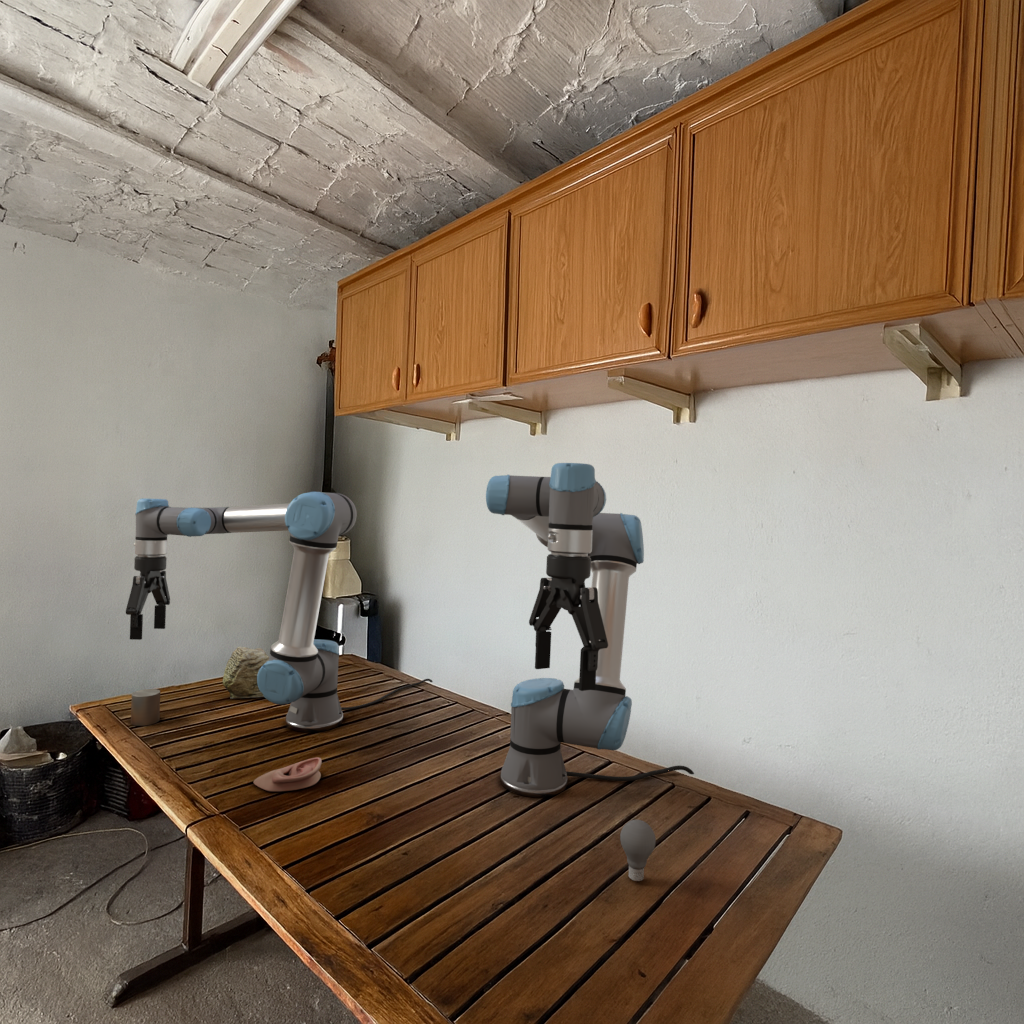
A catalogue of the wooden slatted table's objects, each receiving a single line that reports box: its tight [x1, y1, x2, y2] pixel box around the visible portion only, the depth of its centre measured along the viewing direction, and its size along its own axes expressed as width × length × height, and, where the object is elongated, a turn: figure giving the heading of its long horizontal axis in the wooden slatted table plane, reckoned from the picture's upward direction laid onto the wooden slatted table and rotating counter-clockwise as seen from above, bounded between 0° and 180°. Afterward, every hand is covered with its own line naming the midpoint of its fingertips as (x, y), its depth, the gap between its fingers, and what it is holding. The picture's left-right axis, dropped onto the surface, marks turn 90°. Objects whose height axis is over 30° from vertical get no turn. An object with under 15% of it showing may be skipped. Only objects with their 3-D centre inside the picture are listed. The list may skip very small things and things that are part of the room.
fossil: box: [222, 646, 269, 699], centre depth 198 cm, size 9×18×15 cm, turn 132°
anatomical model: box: [253, 757, 323, 792], centre depth 140 cm, size 13×4×12 cm
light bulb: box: [619, 819, 657, 882], centre depth 109 cm, size 6×6×10 cm
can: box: [130, 688, 161, 727], centre depth 172 cm, size 7×7×8 cm
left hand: (148, 633), depth 172 cm, fingers open, 13 cm apart
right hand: (563, 678), depth 108 cm, fingers open, 13 cm apart
